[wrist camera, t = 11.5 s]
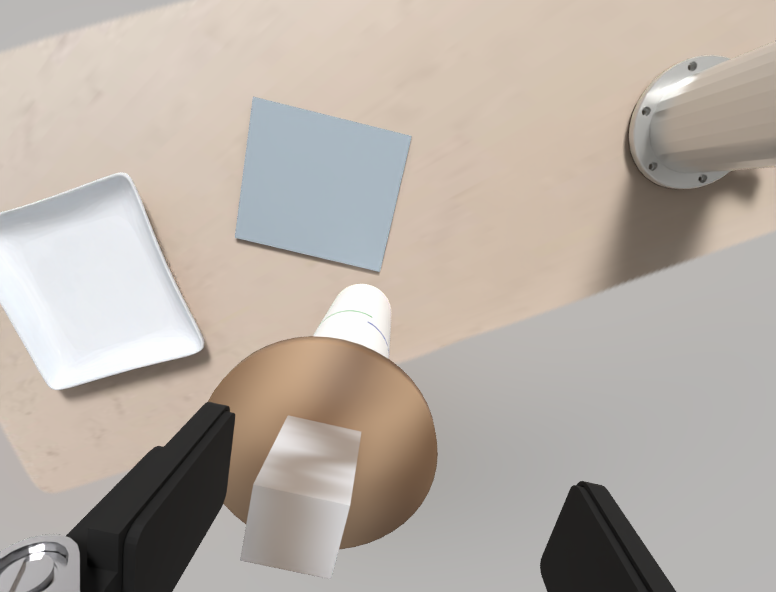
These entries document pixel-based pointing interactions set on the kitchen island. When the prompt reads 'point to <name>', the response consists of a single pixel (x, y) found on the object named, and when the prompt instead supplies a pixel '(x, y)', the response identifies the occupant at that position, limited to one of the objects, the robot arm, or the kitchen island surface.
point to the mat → (319, 184)
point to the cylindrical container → (359, 318)
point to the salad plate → (91, 285)
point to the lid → (323, 450)
